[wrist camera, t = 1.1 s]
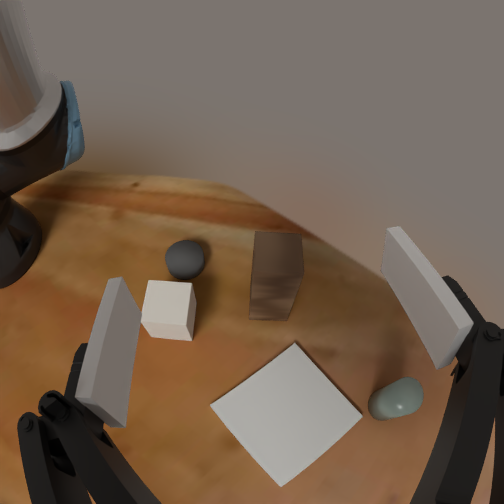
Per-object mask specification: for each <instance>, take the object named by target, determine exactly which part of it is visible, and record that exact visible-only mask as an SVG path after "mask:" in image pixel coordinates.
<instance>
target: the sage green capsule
mask: <svg viewBox="0 0 504 504" xmlns="http://www.w3.org/2000/svg"><path fill="white" fill-rule="evenodd" d="M422 401H423V389H422V386H421V385H420V383H419V382H418V381H417V380H416V379H414V378H411V377H404V378H401V379H399V380H397V381H395V382H393V383H391V384H389V385H387V386H385V387H383V388H381V389H379V390H377V391H375V392H374V393H373V394H372V395H371V397H370V399H369V402H368V409H369V412H370V414H371V416H372V417H373V418H375V419H377V420H380V421H384V420H389V419H393V418H396V417H400V416H404V415H407V414H411V413H413V412H415V411H416V410H418V408H419V407H420V406H421V404H422Z"/></svg>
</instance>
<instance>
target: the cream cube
mask: <svg viewBox="0 0 504 504" xmlns="http://www.w3.org/2000/svg"><path fill="white" fill-rule="evenodd" d="M196 304H197V302H196V298H195V294H194V290H193V286H192V283H184V282H169V281H155V280H149V281H148V285H147V290H146V294H145V299H144V304H143V309H142V318H141V323H142V324H143V326H144V327H145V329H146V330H147V331H148V333H149V334H150V336H151V337H157V338H167V339H177V340H188V341H192V338H193V329H194V321H195V313H196Z"/></svg>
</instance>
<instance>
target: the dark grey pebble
mask: <svg viewBox="0 0 504 504" xmlns="http://www.w3.org/2000/svg"><path fill="white" fill-rule="evenodd" d="M165 260H166V264H167V267H168V270H169V272H170V273H171V275H172V276H174V277H175V278H177V279H181V280H188V279H192V278H194V277H196V276H198V275H199V274H200V273H201V272H202V270H203V268H204V264H205V261H204V254H203V250H202V248H201V247H200V246H199V245H198V244H197V243H195V242H193V241H189V240H183V241H179V242H176V243H174V244H173V245H172V246H170V247H169V249H168V250H167V252H166V255H165Z"/></svg>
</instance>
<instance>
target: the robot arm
mask: <svg viewBox="0 0 504 504" xmlns="http://www.w3.org/2000/svg"><path fill="white" fill-rule="evenodd" d="M84 148H85V147H84V137H83V130H82V125H81V122H80V114H79V109H78V104H77V99H76V95H75V91H74V87H73V84H72V83H71V82H70V81H64V82H63V81H60V82H59V80H58V78H57V77H56V76H55V75H54V74H53V73H50V72H48V71H45V70H42V69H41V65H40V63H39V59H38V56H37V53H36V50H35V47H34V43H33V40H32V36H31V33H30V30H29V26H28V22H27V18H26V14H25V10H24V6H23V2H22V0H0V288H4V287H7V286H9V285H11V284H12V283H14V282H15V281H16V280H18V279H19V278H20V277H21V276H22V275H23V274H24V273H25V272H26V271H27V270H28V268H29V267H30V266H31V264H32V263H33V261H34V259H35V257H36V255H37V253H38V251H39V248H40V245H41V240H42V230H41V227H40V224H39V223H38V221H37V220H36V218H35V216H34V215H33V214H32V213H31V212H30V211H29V210H27V209H26V208H24V207H23V206H22V205H20V204H19V203H18V202H16V201H15V200H14V199H12V198H11V195H13V194H14V193H16V192H18V191H20V190H22V189H23V188H25V187H27V186H29V185H31V184H33V183H34V182H36V181H38V180H40V179H42V178H44V177H46V176H48V175H50V174H52V173H54V172H56V171H59V170H63V169H65V168H66V166H68V165H70V164H72V163H73V162H75V161H77V160H79V159H80V158H81V157H82V155H83V153H84ZM381 272H382V274H383V275H384V277H385V278H386V280H387V282H388V283H389V285H390V287H391V288H392V290H393V292H394V293H395V295H396V297H397V298H398V300H399V302H400V303H401V305H402V307H403V308H404V310H405V312H406V314H407V315H408V317H409V319H410V321H411V322H412V324H413V326H414V328H415V329H416V331H417V333H418V335H419V337H420V339H421V340H422V342H423V344H424V346H425V348H426V350H427V352H428V354H429V355H430V357H431V359H432V361H433V363H434V365H435V367H436V369H440V368H442V367H445V366H447V365H449V364H451V362H452V361H453V359H454V357H455V356H456V358H457V360H458V363H457V365H456V366H455V368H454V369H453V371H452V373H451V375H450V376H453V374H454V373H455V375H454V379H453V383H452V388H451V392H450V396H449V399H448V403H447V407H446V410H445V414H444V417H443V420H442V424H441V427H440V430H439V433H438V436H437V439H436V442H435V445H434V447H433V450H432V453H431V455H430V458H429V461H428V463H427V466H426V468H425V471H424V473H423V475H422V478H421V480H420V482H419V485H418V487H417V489H416V491H415V493H414V496H413V498H412V500H411V502H410V504H470V503H471V500H472V497H473V494H474V492H475V489H476V486H477V483H478V480H479V477H480V474H481V471H482V467H483V464H484V460H485V457H486V453H487V449H488V445H489V441H490V437H491V433H492V428H493V423H494V418H495V456H494V470H493V480H492V489H491V496H490V503H489V504H504V329H500V328H499V327H498V326H497V325H496V324H494V323H491V322H486V321H485V320H484V318H483V317H482V315H481V314H480V313H479V311H478V310H477V308H476V307H475V306H474V304H473V303H472V301H471V300H470V299H469V298H468V296H467V295H466V293H465V292H463V289H462V288H461V287H460V285H459V284H458V283H457V282H456V281H455V280H454V279H452V278H451V277H449V276H445V277H441V276H440V275H439V274H438V272H437V271H436V270H435V268H434V267H433V266H432V265H431V263H430V262H429V261H428V260H427V258H426V257H425V256H424V255H423V253H422V252H421V251H420V250H419V248H418V247H417V246H416V245H415V244H414V243H413V241H412V240H411V239H410V238H409V236H408V235H407V234H406V233H405V232H404V231H403V229H402V228H401V227H400V226H396V227H391V228H387V229H386V238H385V245H384V252H383V259H382V266H381ZM141 318H142V313H141V312H140V310H139V308H138V306H137V304H136V302H135V301H134V299H133V297H132V295H131V293H130V291H129V289H128V287H127V285H126V283H125V281H124V279H123V278H122V277H117V278H112V279H109V280H108V283H107V286H106V289H105V292H104V294H103V297H102V300H101V303H100V306H99V310H98V313H97V316H96V319H95V322H94V325H93V329H92V332H91V336H90V339H89V342H88V343H82V344H81V345H80V347H79V348H78V350H77V351H76V353H75V356H74V360H73V364H72V367H71V372H70V374H69V378H68V382H67V386H66V390H65V394H64V396H63V395H62V394H60V393H59V392H58V391H55V390H52V391H48V392H47V393H45V394H44V395H43V396H42V397H41V399H40V401H39V406H38V410H39V413H40V414H41V415H42V416H40V417H38V416H36V415H35V414H34V413H32V412H26V413H25V414H23V415H22V416H21V417H20V419H19V421H18V427H17V429H18V437H19V445H20V451H21V457H22V463H23V468H24V473H25V478H26V482H27V487H28V491H29V495H30V499H31V502H32V504H92V502H91V499H90V497H89V494H88V492H89V493H90V495H91V496H92V498H93V499H94V501H95V502H96V504H161V502H160V501H159V500H158V499H157V498H156V497H155V496H154V494H153V493H152V492H151V491H150V490H149V489H148V487H147V486H146V485H145V484H144V483H143V481H142V480H141V479H140V478H139V476H138V475H137V474H136V473H135V471H134V470H133V469H132V467H131V466H130V465H129V463H128V462H127V461H126V459H125V458H124V457H123V455H122V454H121V453H120V451H119V450H118V448H117V447H116V445H115V444H114V443H113V441H112V440H111V438H110V437H109V435H108V434H107V432H106V431H105V430H104V429H103V424H104V422H105V423H106V424H107V425H108V426H110V427H118V428H126V421H127V411H128V403H129V394H130V387H131V379H132V372H133V365H134V359H135V353H136V346H137V341H138V335H139V329H140V324H141ZM86 488H87V489H86ZM87 490H88V491H87Z"/></svg>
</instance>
